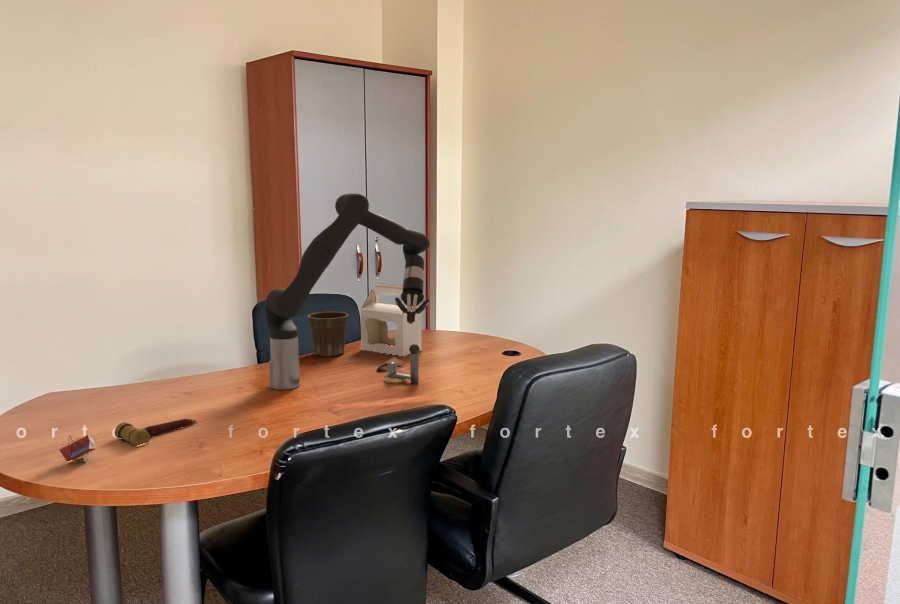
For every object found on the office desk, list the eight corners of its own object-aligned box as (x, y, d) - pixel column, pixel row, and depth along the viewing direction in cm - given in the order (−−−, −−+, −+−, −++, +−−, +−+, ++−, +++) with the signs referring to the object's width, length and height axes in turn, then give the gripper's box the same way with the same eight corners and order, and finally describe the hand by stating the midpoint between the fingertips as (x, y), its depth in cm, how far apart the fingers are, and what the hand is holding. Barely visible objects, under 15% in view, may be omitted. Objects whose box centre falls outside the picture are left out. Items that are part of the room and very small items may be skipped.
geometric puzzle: (55, 462, 161) (75, 432, 163) (51, 453, 167) (71, 424, 168) (83, 474, 165) (103, 444, 167) (79, 464, 171) (98, 436, 172)
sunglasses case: (398, 377, 244) (389, 360, 243) (382, 385, 246) (373, 369, 245) (412, 364, 261) (403, 349, 261) (397, 372, 263) (388, 357, 263)
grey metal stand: (379, 381, 233) (379, 342, 230) (392, 376, 240) (392, 338, 237) (412, 387, 226) (412, 347, 224) (425, 381, 233) (425, 342, 231)
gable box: (360, 350, 285) (359, 283, 280) (380, 344, 296) (379, 280, 291) (403, 357, 273) (403, 288, 269) (422, 350, 284) (422, 284, 280)
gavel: (186, 409, 198) (206, 416, 192) (186, 425, 198) (205, 432, 192) (114, 424, 181) (133, 432, 175) (114, 440, 182) (133, 449, 176)
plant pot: (304, 351, 282) (303, 312, 280) (342, 347, 289) (341, 310, 286) (314, 360, 268) (313, 319, 265) (354, 356, 274) (353, 316, 272)
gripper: (395, 275, 248) (391, 316, 239) (431, 276, 248) (429, 318, 239) (395, 286, 254) (392, 326, 245) (431, 287, 254) (429, 328, 246)
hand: (410, 322), depth 242 cm, fingers closed
